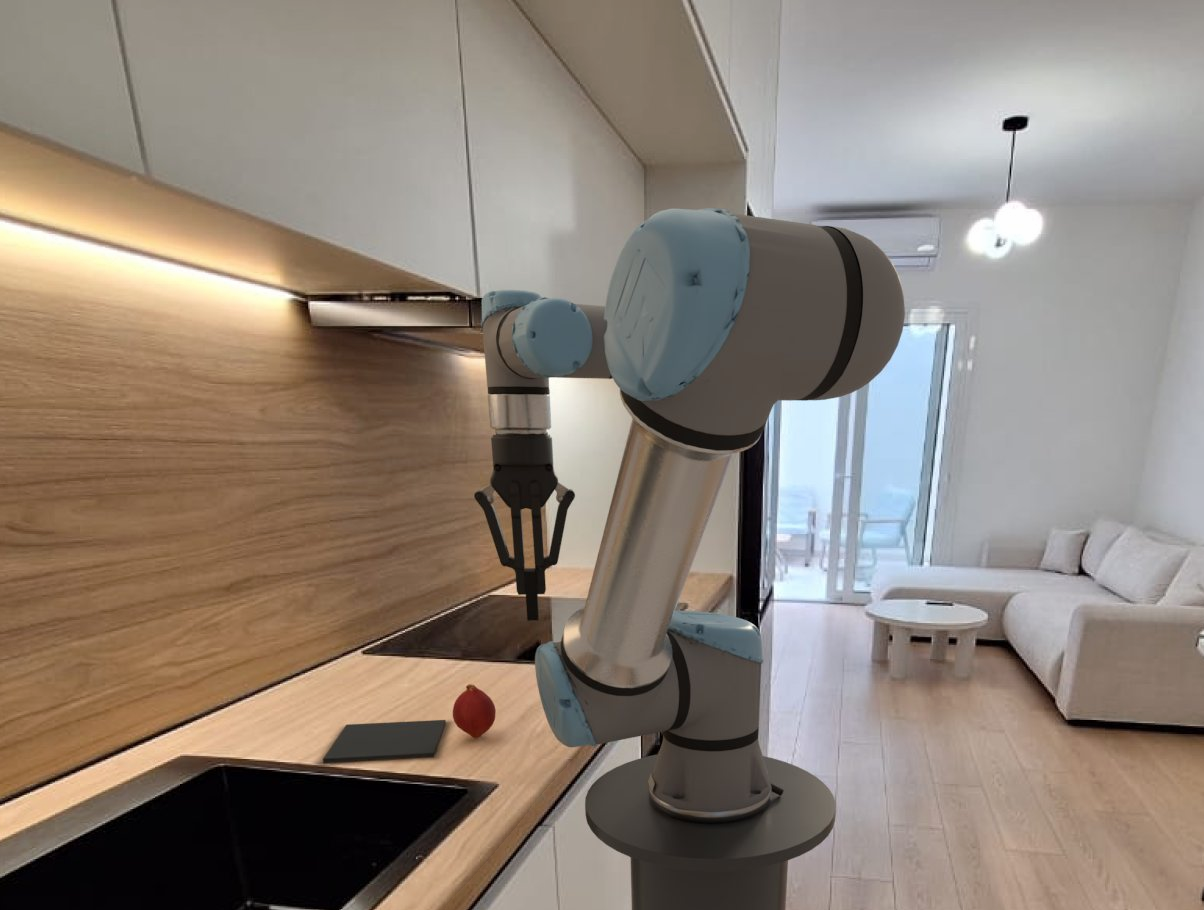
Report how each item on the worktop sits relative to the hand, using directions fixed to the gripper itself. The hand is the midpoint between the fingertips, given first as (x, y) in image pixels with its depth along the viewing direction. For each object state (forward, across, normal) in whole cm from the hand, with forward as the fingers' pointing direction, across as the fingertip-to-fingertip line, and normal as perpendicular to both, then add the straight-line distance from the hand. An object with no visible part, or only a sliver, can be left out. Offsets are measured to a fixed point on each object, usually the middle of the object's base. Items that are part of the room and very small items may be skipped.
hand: (533, 618), depth 109 cm
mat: (+17, +21, 0) cm, 27 cm away
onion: (+17, +9, 0) cm, 19 cm away
